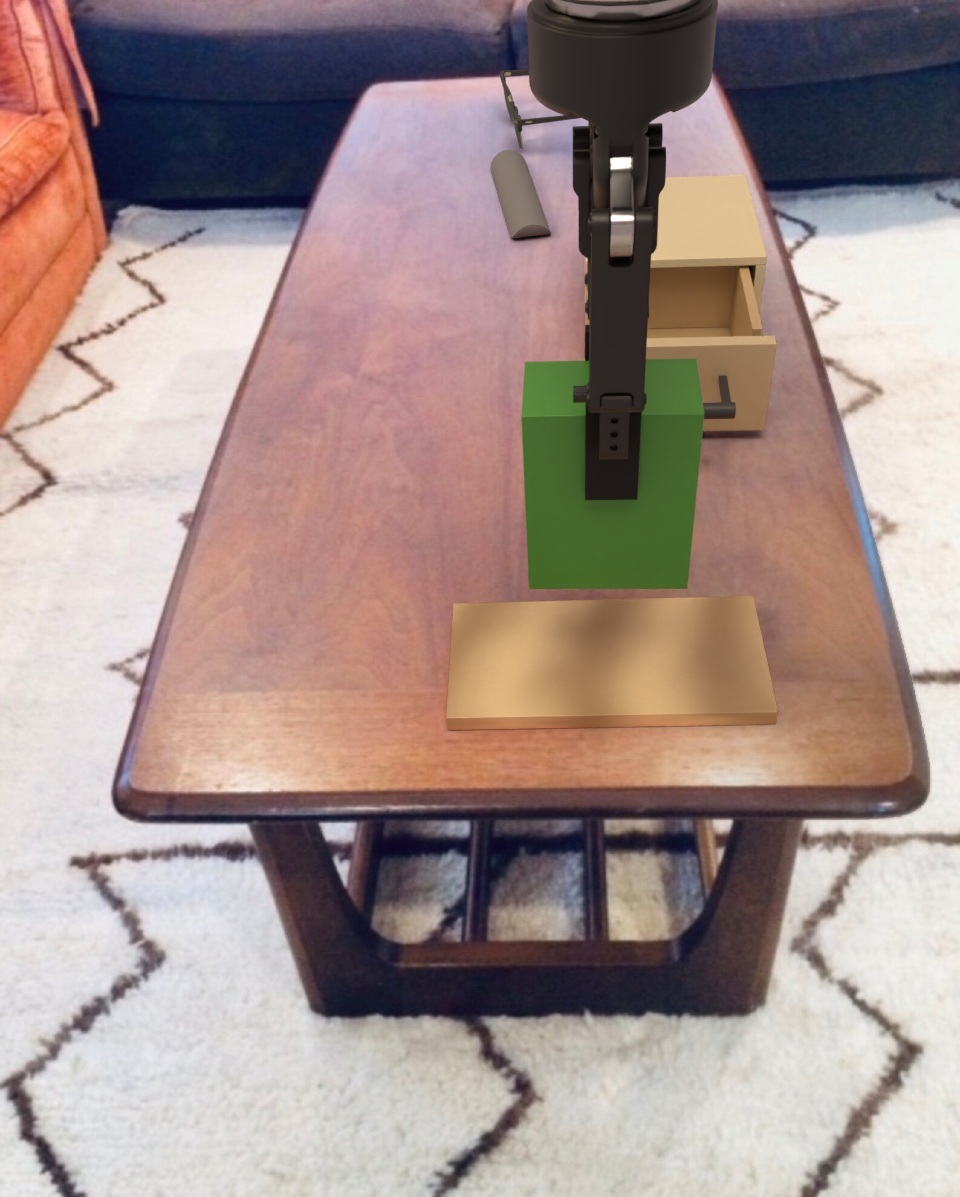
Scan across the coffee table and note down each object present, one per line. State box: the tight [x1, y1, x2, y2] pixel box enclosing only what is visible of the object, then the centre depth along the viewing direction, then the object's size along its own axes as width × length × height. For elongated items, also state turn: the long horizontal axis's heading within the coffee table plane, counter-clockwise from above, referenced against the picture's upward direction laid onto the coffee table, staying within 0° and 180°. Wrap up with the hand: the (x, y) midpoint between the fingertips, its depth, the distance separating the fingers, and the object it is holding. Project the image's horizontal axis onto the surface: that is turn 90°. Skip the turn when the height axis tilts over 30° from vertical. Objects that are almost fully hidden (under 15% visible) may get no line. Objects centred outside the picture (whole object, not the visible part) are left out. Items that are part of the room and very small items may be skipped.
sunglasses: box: [499, 69, 581, 151], centre depth 132 cm, size 16×17×5 cm
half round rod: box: [490, 149, 552, 239], centre depth 120 cm, size 4×20×2 cm, turn 6°
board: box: [445, 595, 779, 731], centre depth 70 cm, size 20×10×1 cm, turn 88°
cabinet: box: [583, 174, 768, 326], centre depth 98 cm, size 16×15×10 cm
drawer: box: [646, 265, 778, 432], centre depth 87 cm, size 19×13×8 cm
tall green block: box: [520, 359, 704, 590], centre depth 60 cm, size 5×9×12 cm, turn 86°
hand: (609, 461), depth 59 cm, fingers closed on tall green block, 5 cm apart
